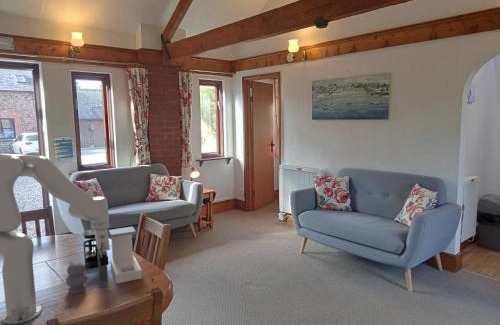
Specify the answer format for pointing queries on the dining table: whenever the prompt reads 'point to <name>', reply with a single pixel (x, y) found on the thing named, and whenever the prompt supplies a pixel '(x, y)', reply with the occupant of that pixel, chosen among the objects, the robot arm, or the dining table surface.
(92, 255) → the french press
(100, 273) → the peg
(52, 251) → the dining table surface
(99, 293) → the dining table surface
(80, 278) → the cat figurine
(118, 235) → the white dispenser with tray
